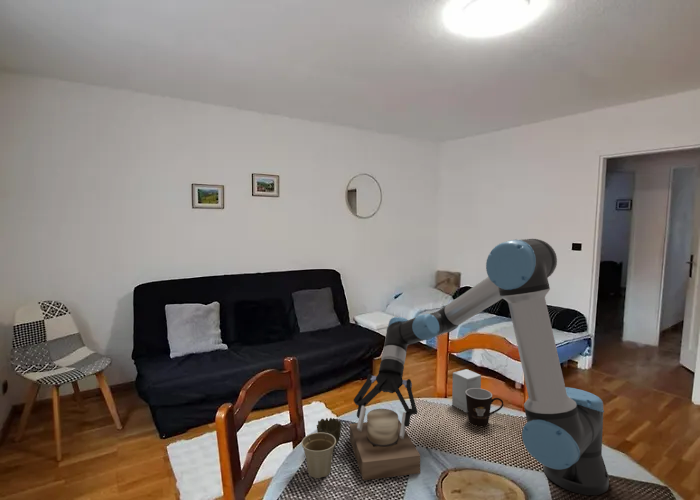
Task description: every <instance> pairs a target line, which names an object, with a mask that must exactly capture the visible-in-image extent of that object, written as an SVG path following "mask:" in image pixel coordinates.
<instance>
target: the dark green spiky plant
mask: <svg viewBox="0 0 700 500" xmlns="http://www.w3.org/2000/svg"><path fill="white" fill-rule="evenodd" d="M341 421H342V420H339V419H338V418H337V419H335V418H334V417H333V418H332V417H330V418H329V419H328V417H326V418H325V419H324V418H321V419H320V420H318V421H317V424H316V431H317V432H316V433H318V432H322V433H329V434H331V435H333V436H334V437H335V439H336V444H335V446H334V449H333V451H334V450H335V449H336V446H337V444H338V443H339V442H340V438H341V431H342V422H341Z"/></svg>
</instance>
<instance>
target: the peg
mask: <svg viewBox="0 0 700 500" xmlns="http://www.w3.org/2000/svg"><path fill="white" fill-rule="evenodd" d="M366 418H367V419H366V420H367V421H366V422H367V439H368V441H369V443H371V444H372V445H373V447H377V446H378V447H390V446H393V445H395V444H396V443H397V441H398V419H399V416H398V413H397V412H396V411H394V410H392V409H390V408H389V409H388V408H375V409H371V410H370V411H369V412H367V415H366Z"/></svg>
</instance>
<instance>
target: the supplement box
mask: <svg viewBox="0 0 700 500" xmlns="http://www.w3.org/2000/svg"><path fill="white" fill-rule="evenodd" d="M481 386H482V374H479V373H477V372H475V371H472V370H469V369H468V368H467V369H461V370H458V371H453V372H452V388H451V389H452V390H451V391H452V396H451V397H452V401H451V402H452V403H451V405H452V406H453V407H455V408H457V409H458V408H459V409H458V410H460V409H461V411H462V410H463V411H462V412H464V413H467V414H468V410H467V401H466V390H467V389H470V388H480V389H482V387H481Z"/></svg>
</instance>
